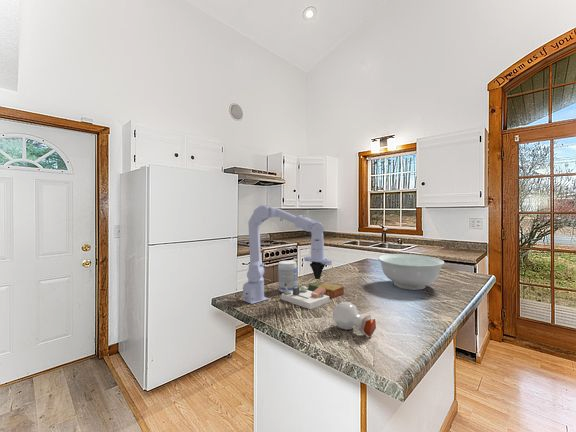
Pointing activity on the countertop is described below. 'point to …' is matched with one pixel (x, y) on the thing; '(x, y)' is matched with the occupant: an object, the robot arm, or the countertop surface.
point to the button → (303, 288)
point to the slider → (296, 291)
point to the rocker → (318, 292)
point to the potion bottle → (353, 319)
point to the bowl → (411, 270)
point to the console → (305, 299)
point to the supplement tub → (287, 275)
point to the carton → (327, 289)
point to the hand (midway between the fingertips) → (317, 278)
